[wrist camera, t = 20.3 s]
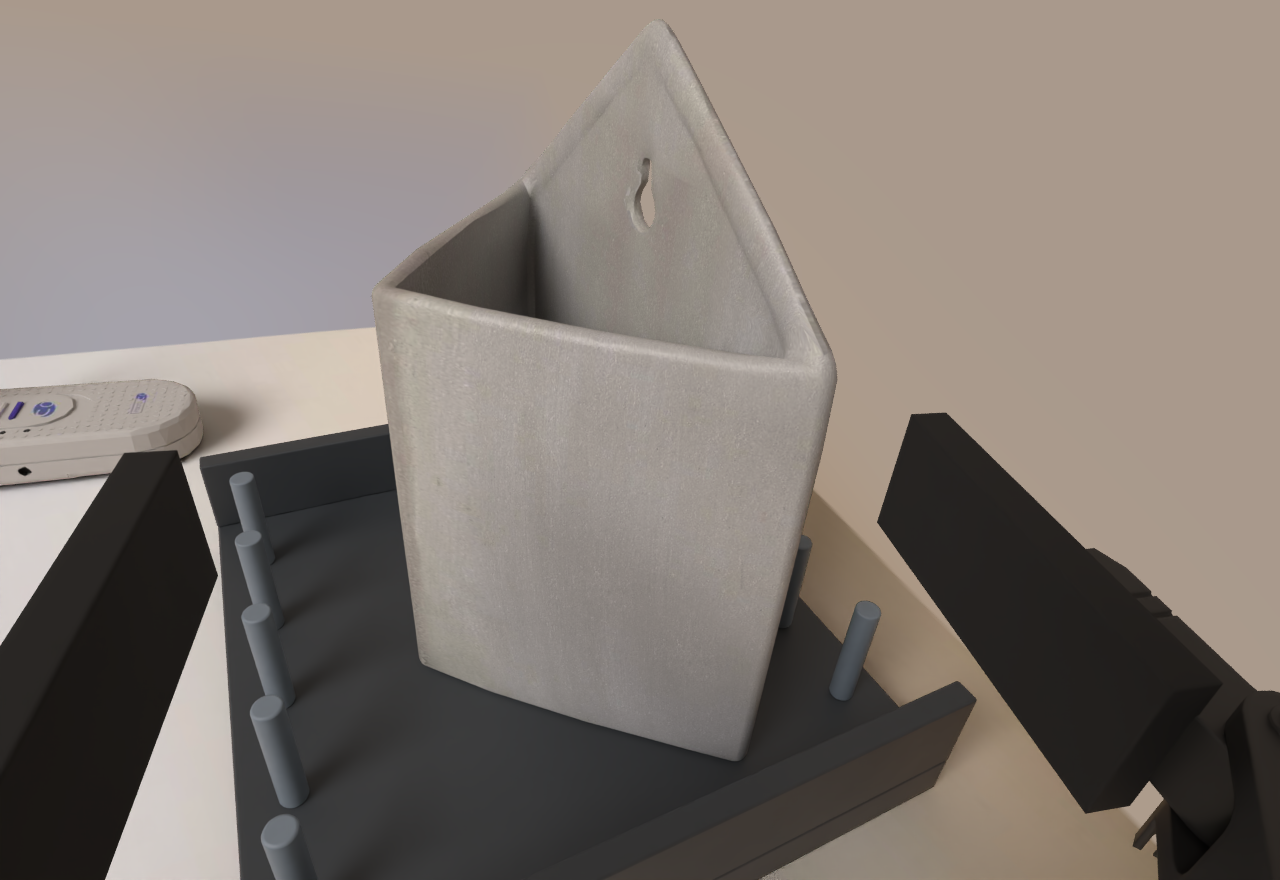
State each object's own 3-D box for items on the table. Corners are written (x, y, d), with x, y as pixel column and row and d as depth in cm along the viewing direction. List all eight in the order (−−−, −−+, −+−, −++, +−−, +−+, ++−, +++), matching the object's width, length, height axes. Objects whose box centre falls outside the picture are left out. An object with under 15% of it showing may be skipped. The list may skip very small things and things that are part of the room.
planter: (361, 524, 31) (268, -22, 20) (537, 476, 35) (535, -8, 24) (514, 884, 20) (482, 72, 9) (752, 756, 23) (928, 71, 13)
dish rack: (644, 450, 40) (653, 358, 37) (934, 787, 25) (989, 677, 22) (225, 543, 32) (192, 435, 29) (268, 1139, 16) (207, 1040, 13)
